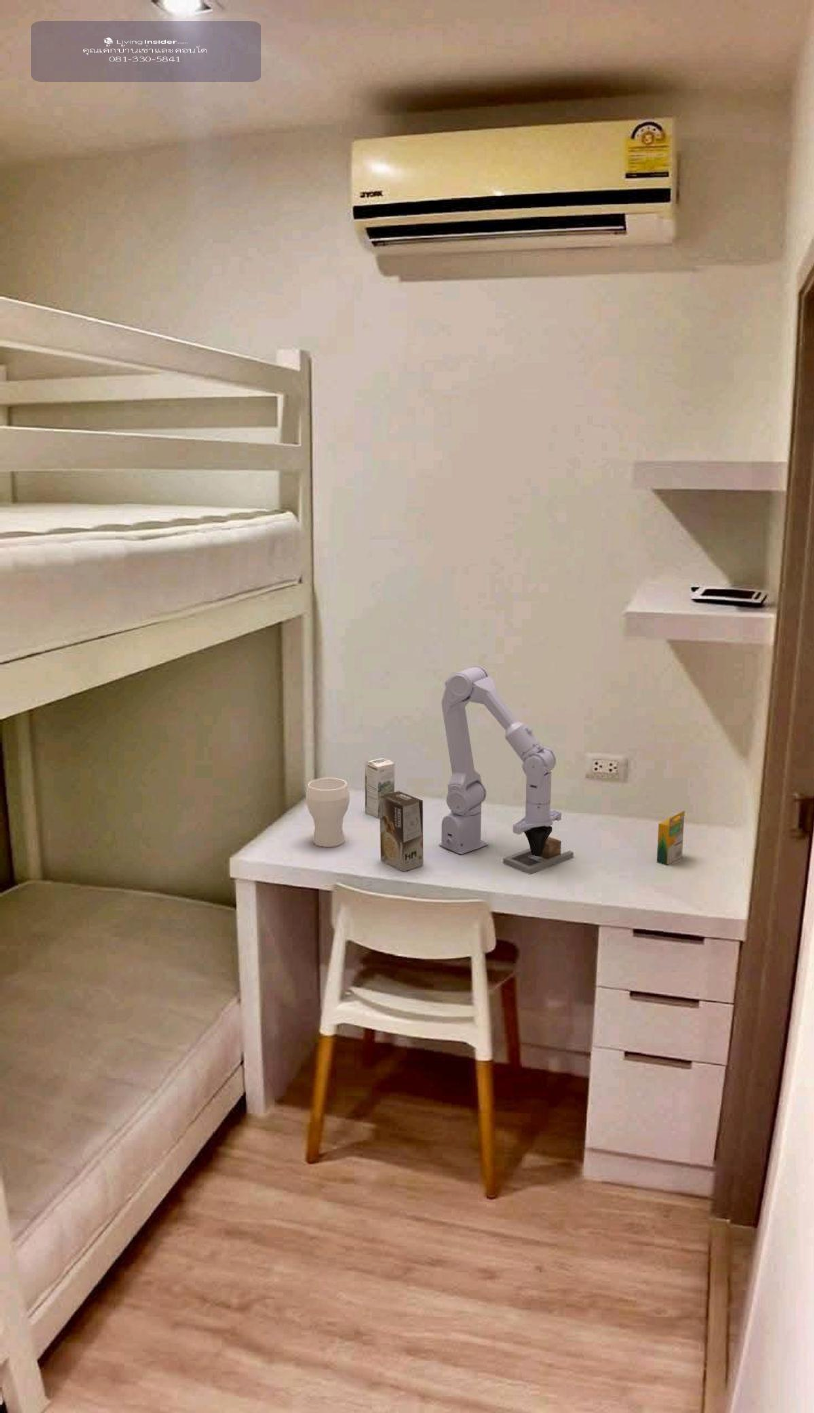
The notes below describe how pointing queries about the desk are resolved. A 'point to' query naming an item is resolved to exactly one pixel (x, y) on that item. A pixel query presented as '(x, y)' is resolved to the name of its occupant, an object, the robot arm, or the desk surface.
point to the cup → (328, 809)
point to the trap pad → (528, 861)
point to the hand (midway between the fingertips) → (536, 855)
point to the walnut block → (551, 848)
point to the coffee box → (401, 830)
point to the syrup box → (378, 783)
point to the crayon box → (670, 839)
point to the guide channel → (514, 863)
